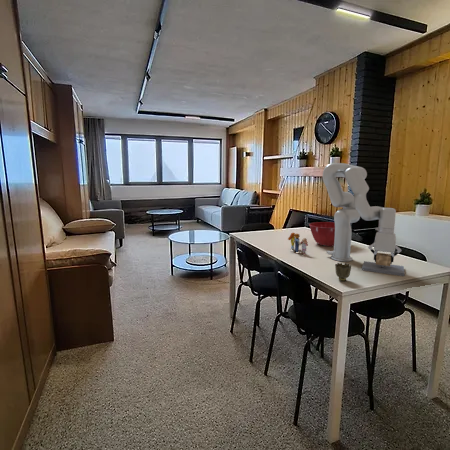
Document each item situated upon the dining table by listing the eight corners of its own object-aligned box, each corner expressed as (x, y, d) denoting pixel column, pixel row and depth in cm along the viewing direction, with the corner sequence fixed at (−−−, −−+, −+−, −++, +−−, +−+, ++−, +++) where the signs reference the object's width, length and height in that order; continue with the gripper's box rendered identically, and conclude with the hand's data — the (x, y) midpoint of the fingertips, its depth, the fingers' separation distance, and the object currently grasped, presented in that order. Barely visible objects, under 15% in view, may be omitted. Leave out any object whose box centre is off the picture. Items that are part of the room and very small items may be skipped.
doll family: (308, 255, 189) (309, 235, 187) (294, 256, 188) (295, 236, 186) (296, 247, 210) (297, 230, 208) (284, 248, 209) (284, 230, 207)
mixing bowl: (300, 244, 221) (301, 224, 219) (321, 238, 240) (321, 220, 237) (335, 251, 200) (337, 229, 198) (354, 244, 219) (356, 224, 216)
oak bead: (375, 264, 158) (376, 255, 158) (376, 261, 164) (377, 252, 164) (390, 266, 155) (391, 257, 154) (390, 262, 161) (391, 254, 160)
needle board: (361, 270, 159) (362, 256, 158) (363, 263, 171) (364, 250, 170) (404, 276, 149) (405, 261, 148) (403, 268, 161) (404, 254, 160)
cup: (333, 281, 142) (334, 266, 141) (334, 277, 149) (335, 262, 147) (350, 283, 139) (351, 267, 138) (350, 279, 146) (351, 263, 144)
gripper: (367, 230, 158) (365, 261, 161) (405, 233, 149) (401, 266, 152) (368, 228, 164) (366, 258, 167) (404, 230, 156) (401, 262, 159)
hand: (383, 262), depth 160 cm, fingers closed on oak bead, 6 cm apart
